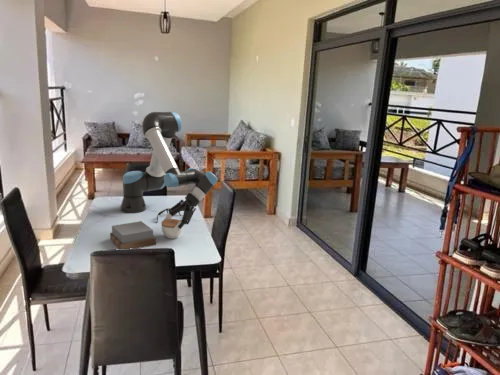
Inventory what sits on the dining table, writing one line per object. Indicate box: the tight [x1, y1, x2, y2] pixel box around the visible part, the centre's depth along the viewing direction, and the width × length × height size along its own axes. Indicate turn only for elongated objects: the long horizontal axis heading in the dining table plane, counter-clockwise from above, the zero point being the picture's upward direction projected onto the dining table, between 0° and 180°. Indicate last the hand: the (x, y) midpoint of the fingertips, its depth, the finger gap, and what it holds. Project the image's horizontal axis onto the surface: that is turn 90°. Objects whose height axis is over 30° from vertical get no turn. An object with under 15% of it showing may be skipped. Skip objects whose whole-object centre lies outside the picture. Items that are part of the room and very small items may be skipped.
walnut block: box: [109, 232, 157, 250], centre depth 192 cm, size 17×17×4 cm
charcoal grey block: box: [111, 220, 154, 243], centre depth 191 cm, size 15×15×4 cm
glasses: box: [156, 207, 183, 223], centre depth 228 cm, size 16×18×5 cm
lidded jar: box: [161, 218, 183, 239], centre depth 201 cm, size 11×11×9 cm
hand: (168, 228), depth 200 cm, fingers open, 13 cm apart
